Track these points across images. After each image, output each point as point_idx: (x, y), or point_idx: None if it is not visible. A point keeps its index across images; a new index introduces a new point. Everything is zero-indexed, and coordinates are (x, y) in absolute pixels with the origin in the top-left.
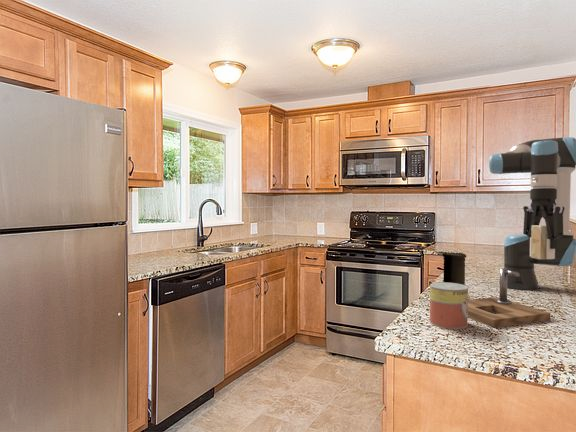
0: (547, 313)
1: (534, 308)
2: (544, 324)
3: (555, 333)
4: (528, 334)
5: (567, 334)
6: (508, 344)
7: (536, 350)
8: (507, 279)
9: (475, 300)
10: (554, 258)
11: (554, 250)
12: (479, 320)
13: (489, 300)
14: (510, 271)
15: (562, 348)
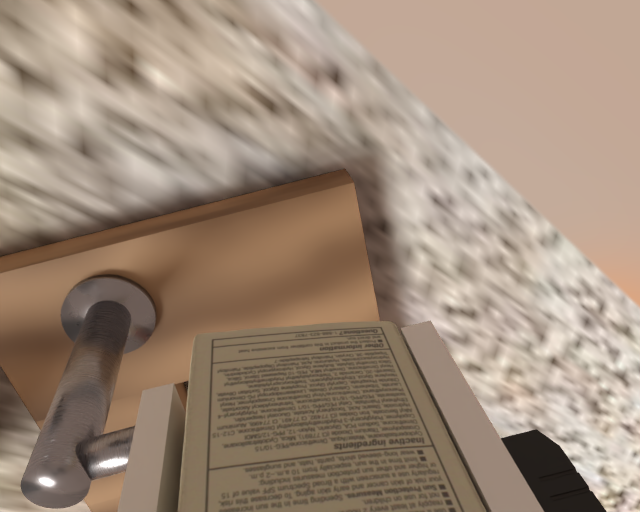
0: (357, 202)
1: (255, 213)
2: (400, 240)
3: (513, 270)
4: (493, 368)
5: (537, 231)
6: None
7: (615, 415)
8: (91, 399)
9: None
10: (432, 326)
11: (475, 401)
12: None
13: (61, 363)
14: None
15: (634, 339)
